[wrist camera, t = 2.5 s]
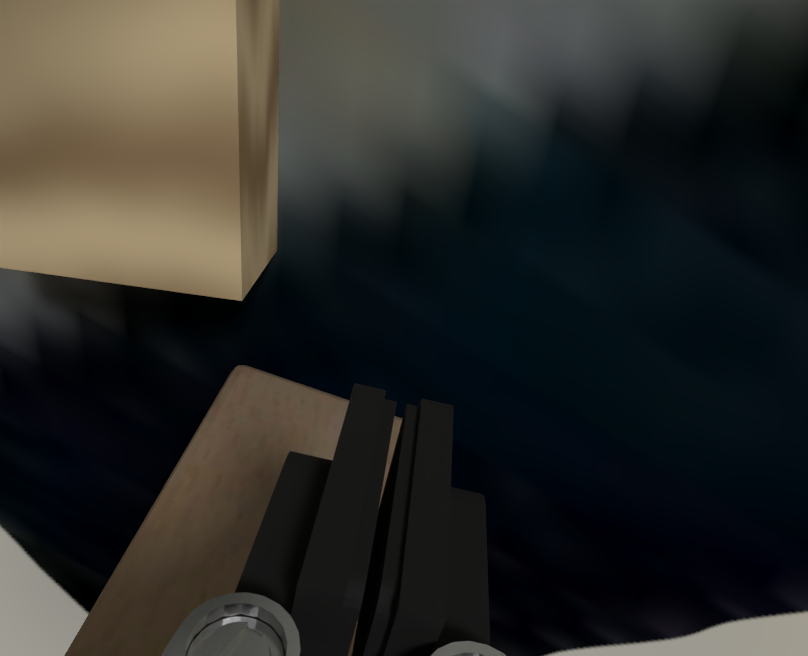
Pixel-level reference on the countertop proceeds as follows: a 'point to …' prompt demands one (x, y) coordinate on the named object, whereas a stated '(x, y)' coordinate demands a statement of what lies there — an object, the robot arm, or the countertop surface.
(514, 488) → the countertop surface
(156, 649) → the wooden block
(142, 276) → the oak block
